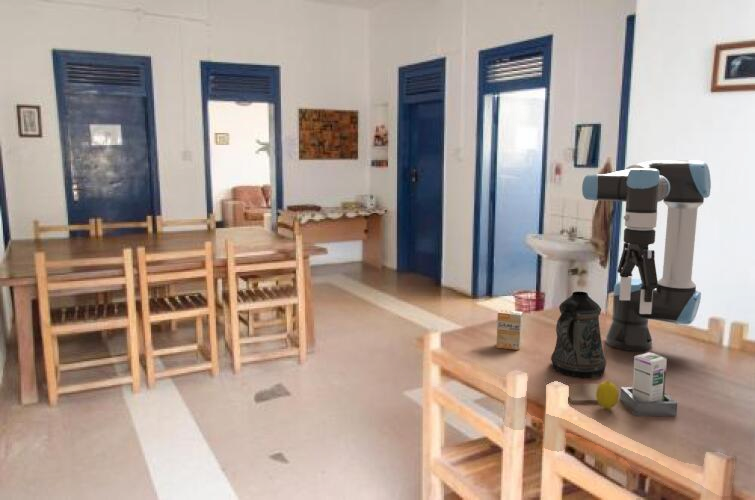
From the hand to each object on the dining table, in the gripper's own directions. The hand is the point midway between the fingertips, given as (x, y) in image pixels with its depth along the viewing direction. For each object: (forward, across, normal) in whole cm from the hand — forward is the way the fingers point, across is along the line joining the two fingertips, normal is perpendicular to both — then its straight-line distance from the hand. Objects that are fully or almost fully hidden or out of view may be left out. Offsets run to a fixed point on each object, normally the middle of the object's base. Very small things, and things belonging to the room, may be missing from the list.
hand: (634, 306), depth 152 cm
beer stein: (+27, -22, -7) cm, 36 cm away
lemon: (+28, +4, -7) cm, 29 cm away
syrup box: (+27, +3, +4) cm, 28 cm away
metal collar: (+27, +3, +4) cm, 28 cm away
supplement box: (+27, -44, -24) cm, 57 cm away
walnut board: (+27, -4, -10) cm, 29 cm away
